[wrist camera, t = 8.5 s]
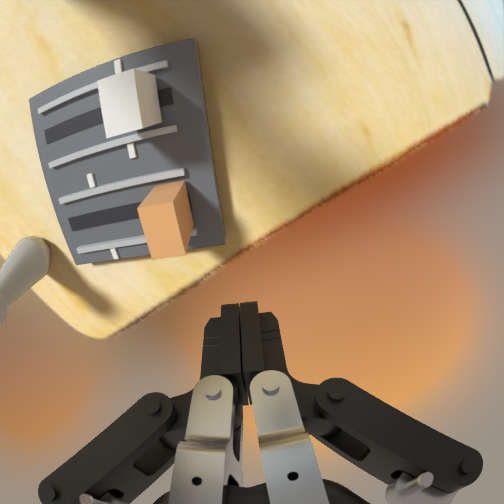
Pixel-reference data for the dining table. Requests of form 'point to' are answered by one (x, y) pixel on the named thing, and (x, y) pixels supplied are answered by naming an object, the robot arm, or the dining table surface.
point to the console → (127, 156)
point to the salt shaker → (22, 270)
